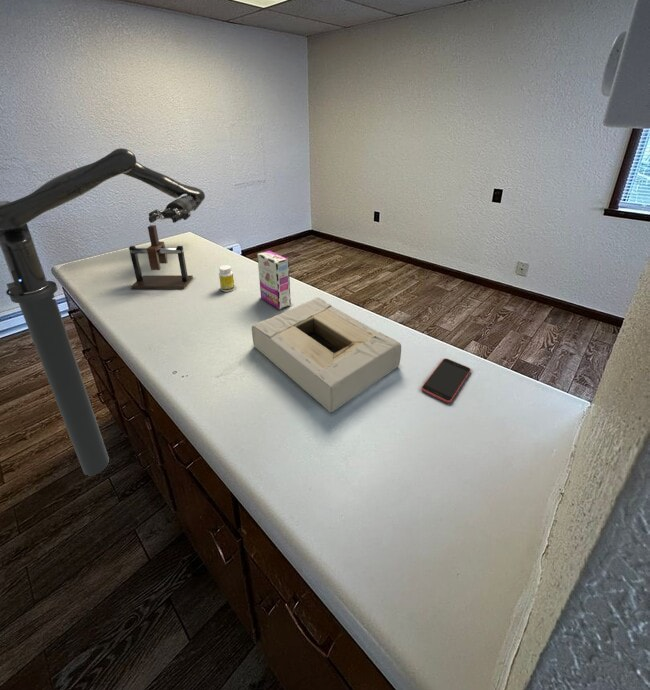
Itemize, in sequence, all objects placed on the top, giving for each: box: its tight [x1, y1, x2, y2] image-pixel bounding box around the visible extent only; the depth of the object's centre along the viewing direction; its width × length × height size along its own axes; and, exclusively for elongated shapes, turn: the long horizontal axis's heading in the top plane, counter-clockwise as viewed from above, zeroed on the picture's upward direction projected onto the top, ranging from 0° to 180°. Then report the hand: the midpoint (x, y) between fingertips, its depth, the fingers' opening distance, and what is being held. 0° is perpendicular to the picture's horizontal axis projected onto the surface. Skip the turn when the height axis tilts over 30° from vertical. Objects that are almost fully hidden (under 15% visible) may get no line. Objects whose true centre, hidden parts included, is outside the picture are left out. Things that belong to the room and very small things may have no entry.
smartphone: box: [421, 358, 472, 404], centre depth 84 cm, size 7×1×14 cm
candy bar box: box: [256, 250, 292, 311], centre depth 117 cm, size 11×5×16 cm, turn 42°
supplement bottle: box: [218, 264, 235, 293], centre depth 127 cm, size 5×5×8 cm
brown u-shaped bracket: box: [146, 224, 169, 271], centre depth 128 cm, size 7×3×15 cm, turn 179°
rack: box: [128, 245, 194, 290], centre depth 130 cm, size 9×19×15 cm, turn 89°
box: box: [251, 297, 402, 413], centre depth 92 cm, size 23×8×32 cm
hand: (161, 220), depth 133 cm, fingers open, 8 cm apart
